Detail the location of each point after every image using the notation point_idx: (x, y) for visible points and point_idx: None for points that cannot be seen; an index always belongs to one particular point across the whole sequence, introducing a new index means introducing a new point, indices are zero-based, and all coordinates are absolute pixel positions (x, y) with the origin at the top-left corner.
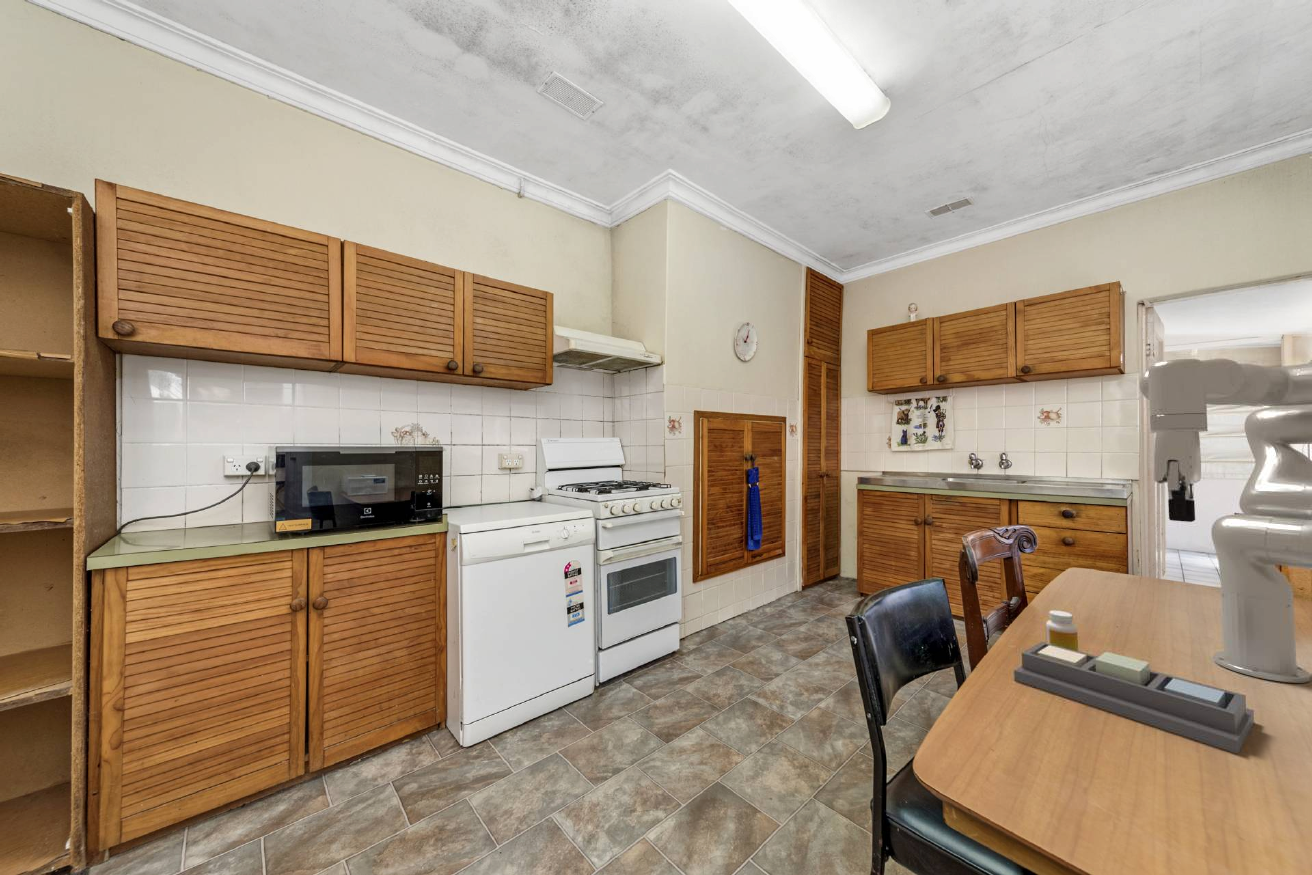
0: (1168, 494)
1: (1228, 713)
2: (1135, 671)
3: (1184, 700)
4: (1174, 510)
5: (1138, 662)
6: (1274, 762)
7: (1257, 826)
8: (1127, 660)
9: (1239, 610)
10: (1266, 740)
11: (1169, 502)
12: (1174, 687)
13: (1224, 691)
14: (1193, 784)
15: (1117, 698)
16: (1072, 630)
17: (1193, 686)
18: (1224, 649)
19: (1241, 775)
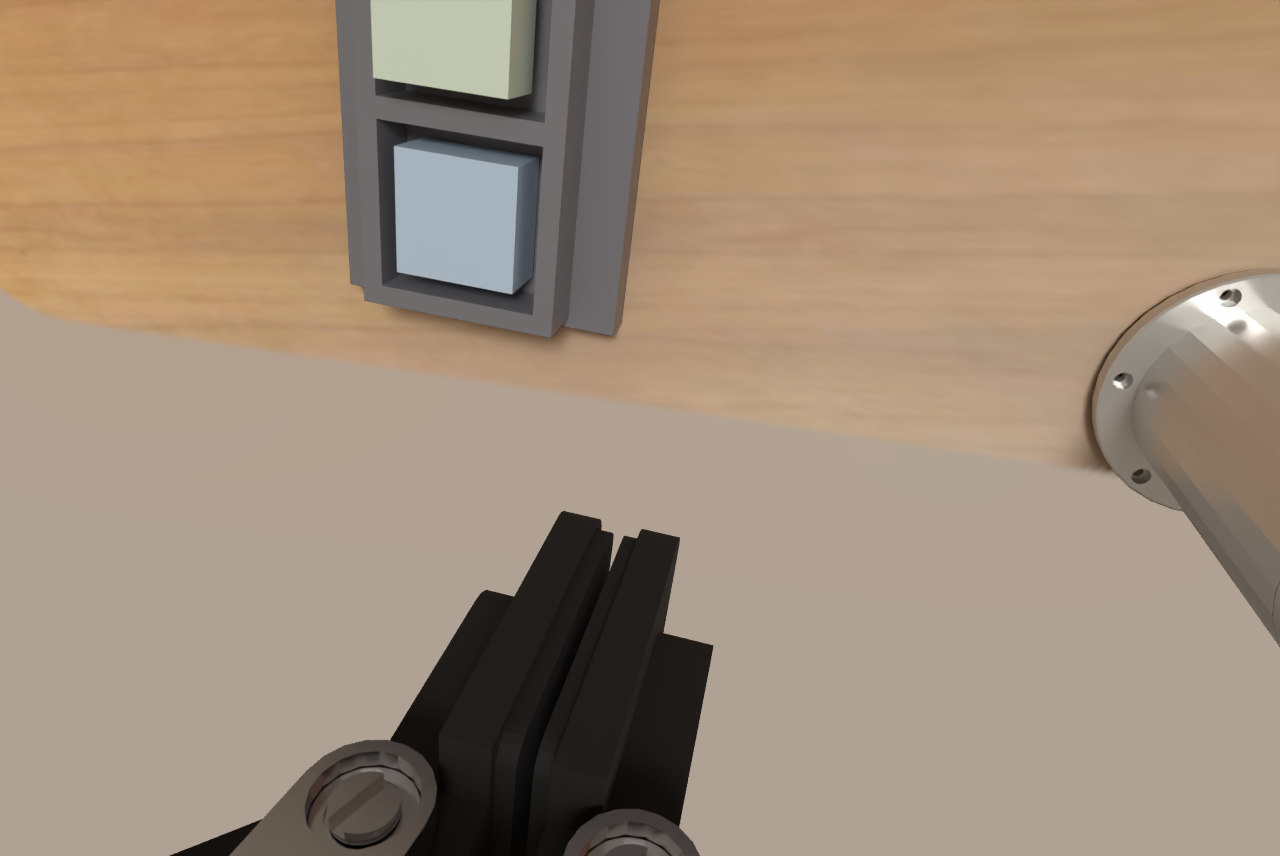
0: (267, 822)
1: (364, 288)
2: (374, 63)
3: (362, 195)
4: (460, 641)
5: (474, 64)
6: (394, 331)
7: (87, 276)
8: (464, 25)
9: (1276, 469)
10: (514, 333)
11: (463, 698)
12: (425, 172)
13: (537, 292)
14: (133, 191)
15: None
16: None
17: (485, 220)
18: (1271, 323)
19: (264, 271)
